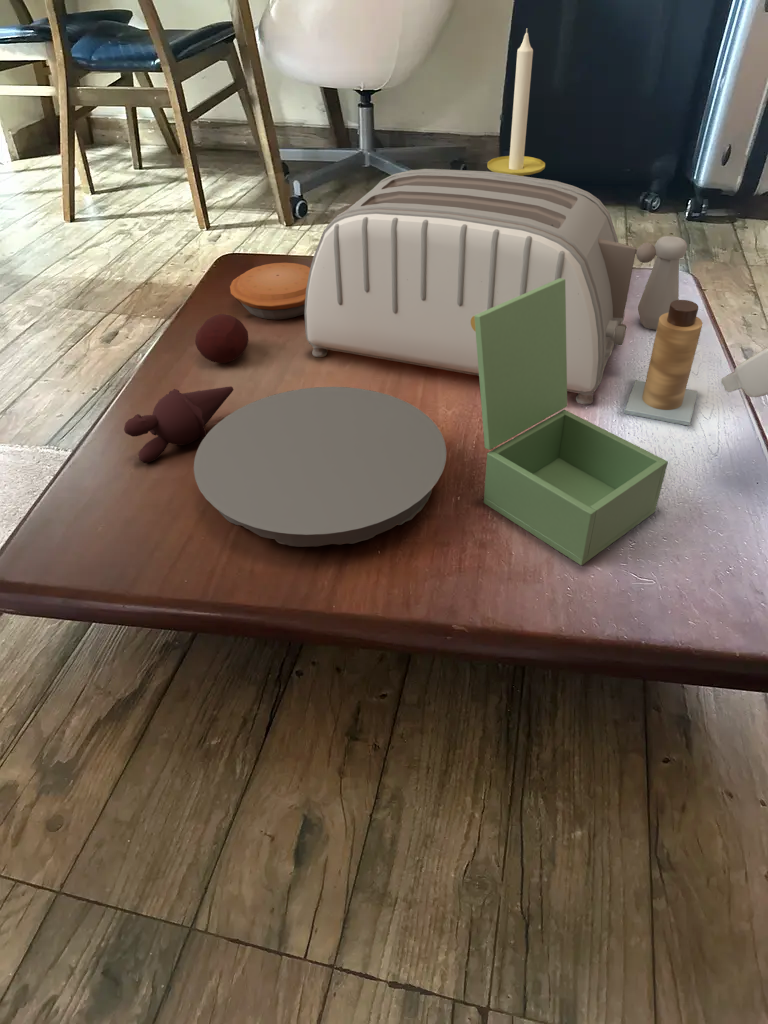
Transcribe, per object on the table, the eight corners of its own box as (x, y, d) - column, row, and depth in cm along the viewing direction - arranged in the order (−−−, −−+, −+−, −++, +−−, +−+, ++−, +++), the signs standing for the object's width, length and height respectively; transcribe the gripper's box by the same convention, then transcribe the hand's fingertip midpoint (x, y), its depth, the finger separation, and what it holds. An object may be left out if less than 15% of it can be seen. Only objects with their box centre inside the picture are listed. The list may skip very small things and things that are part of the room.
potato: (189, 368, 111) (181, 329, 108) (216, 339, 118) (209, 302, 114) (237, 374, 110) (231, 335, 106) (262, 344, 116) (257, 306, 113)
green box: (655, 512, 84) (668, 461, 80) (581, 566, 78) (591, 514, 74) (557, 457, 93) (564, 409, 88) (483, 503, 86) (486, 452, 82)
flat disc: (457, 425, 98) (458, 394, 96) (429, 580, 77) (429, 547, 74) (244, 409, 102) (239, 379, 100) (162, 553, 81) (153, 520, 78)
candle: (514, 278, 133) (537, 20, 109) (548, 300, 126) (580, 29, 102) (463, 290, 129) (475, 26, 105) (495, 313, 122) (515, 37, 98)
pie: (251, 282, 134) (247, 254, 131) (338, 287, 131) (336, 258, 128) (219, 322, 122) (213, 292, 119) (314, 329, 120) (311, 298, 117)
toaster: (618, 417, 99) (653, 242, 84) (301, 360, 112) (284, 200, 98) (641, 342, 114) (674, 183, 100) (359, 299, 127) (353, 154, 113)
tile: (696, 394, 103) (697, 390, 102) (689, 426, 97) (690, 422, 97) (634, 383, 105) (635, 379, 105) (623, 413, 100) (624, 409, 99)
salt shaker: (676, 318, 120) (695, 233, 111) (673, 334, 116) (693, 248, 107) (636, 313, 121) (652, 230, 113) (633, 329, 117) (649, 244, 109)
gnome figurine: (207, 359, 100) (105, 415, 93) (238, 365, 95) (133, 425, 88) (227, 407, 104) (131, 464, 96) (258, 415, 98) (159, 477, 91)
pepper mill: (684, 393, 102) (708, 299, 93) (679, 413, 98) (704, 317, 90) (645, 386, 103) (665, 293, 95) (639, 405, 100) (659, 310, 92)
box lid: (565, 278, 80) (529, 273, 83) (479, 316, 74) (444, 308, 77) (567, 406, 88) (534, 396, 91) (489, 450, 81) (457, 438, 85)
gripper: (898, 260, 82) (781, 316, 94) (804, 321, 72) (686, 376, 84) (925, 313, 82) (805, 362, 94) (835, 381, 72) (714, 427, 84)
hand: (748, 369), depth 89 cm, fingers open, 8 cm apart
